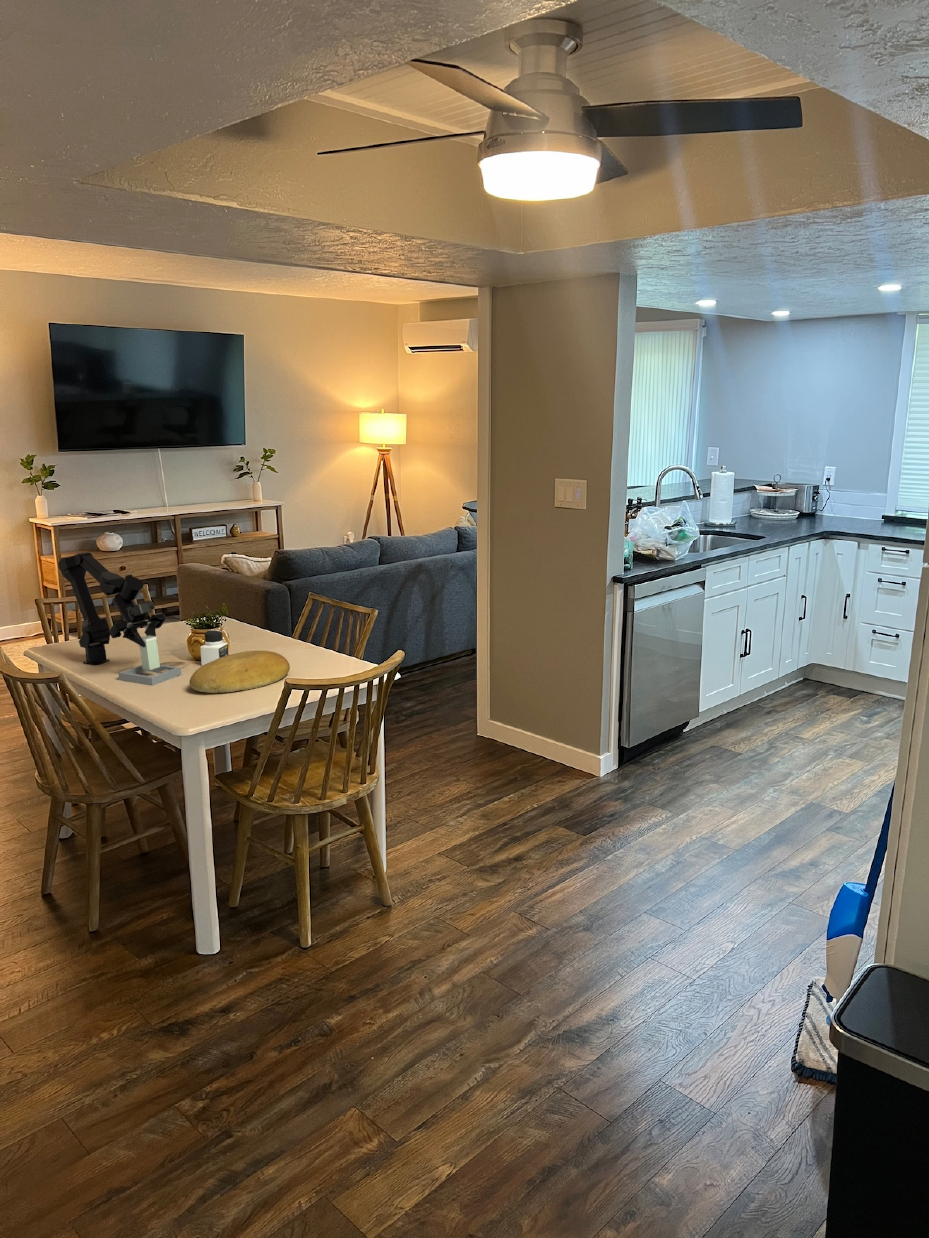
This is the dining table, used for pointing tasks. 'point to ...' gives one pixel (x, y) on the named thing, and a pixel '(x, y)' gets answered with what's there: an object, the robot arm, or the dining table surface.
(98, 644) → the robot arm
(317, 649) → the dining table surface
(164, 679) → the grey square frame
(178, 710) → the dining table surface
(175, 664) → the coaster
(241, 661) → the bread
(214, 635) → the medicine bottle
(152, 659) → the tall square-topped block
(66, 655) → the dining table surface
